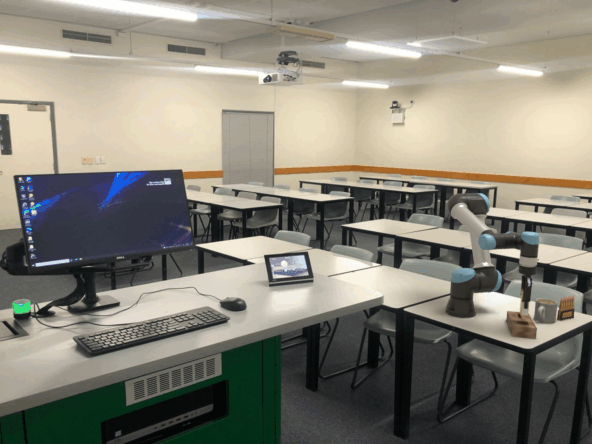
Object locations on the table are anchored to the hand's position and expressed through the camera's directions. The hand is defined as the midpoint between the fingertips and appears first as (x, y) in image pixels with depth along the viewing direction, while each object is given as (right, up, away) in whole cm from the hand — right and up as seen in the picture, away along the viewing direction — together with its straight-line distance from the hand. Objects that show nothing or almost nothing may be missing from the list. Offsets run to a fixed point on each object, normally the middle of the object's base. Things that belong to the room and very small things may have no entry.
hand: (524, 313), depth 236 cm
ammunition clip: (+31, -7, +21) cm, 38 cm away
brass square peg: (0, -1, 0) cm, 1 cm away
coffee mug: (+18, -7, +18) cm, 27 cm away
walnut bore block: (+1, -9, +6) cm, 11 cm away
